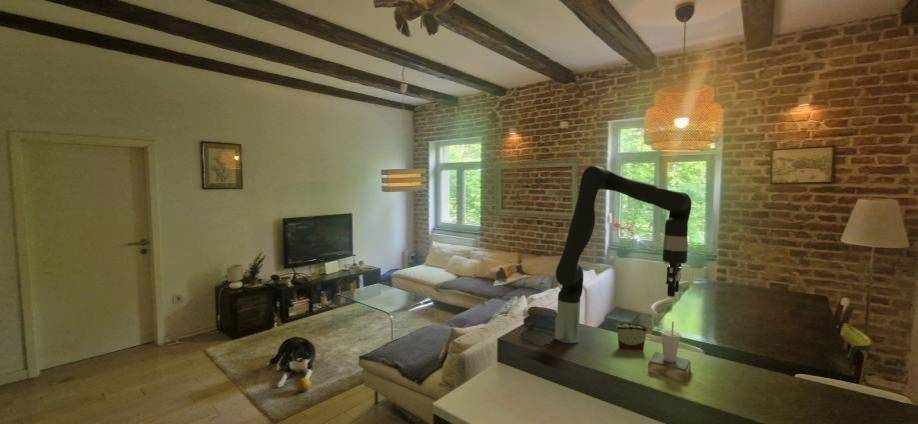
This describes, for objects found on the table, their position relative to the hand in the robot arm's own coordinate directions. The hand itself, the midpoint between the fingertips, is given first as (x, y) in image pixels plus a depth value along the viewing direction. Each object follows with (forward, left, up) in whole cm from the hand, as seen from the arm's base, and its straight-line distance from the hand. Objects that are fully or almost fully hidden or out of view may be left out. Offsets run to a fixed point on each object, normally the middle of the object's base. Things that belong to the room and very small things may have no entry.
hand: (673, 293), depth 138 cm
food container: (-17, +14, -28) cm, 36 cm away
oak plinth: (0, 0, -28) cm, 28 cm away
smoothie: (0, 0, -24) cm, 24 cm away
